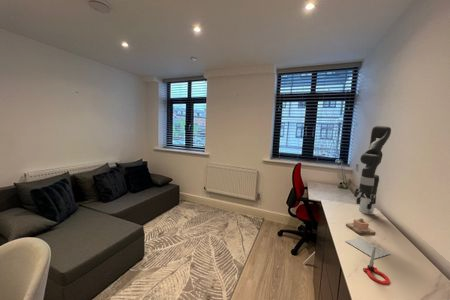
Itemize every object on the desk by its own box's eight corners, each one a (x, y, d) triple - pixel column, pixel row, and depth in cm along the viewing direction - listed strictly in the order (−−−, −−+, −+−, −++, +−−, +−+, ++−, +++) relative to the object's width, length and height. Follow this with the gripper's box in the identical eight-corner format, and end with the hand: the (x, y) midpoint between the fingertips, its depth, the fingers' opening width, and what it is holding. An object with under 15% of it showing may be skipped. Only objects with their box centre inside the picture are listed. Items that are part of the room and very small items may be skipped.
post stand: (345, 225, 139) (347, 214, 139) (360, 225, 141) (361, 214, 140) (359, 234, 128) (361, 223, 127) (375, 234, 130) (377, 222, 129)
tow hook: (394, 285, 87) (376, 269, 96) (400, 259, 85) (381, 245, 94) (377, 286, 86) (360, 270, 95) (383, 260, 84) (365, 246, 93)
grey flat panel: (369, 236, 127) (370, 235, 127) (418, 261, 104) (419, 260, 104) (345, 241, 119) (345, 240, 119) (392, 270, 96) (392, 269, 96)
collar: (353, 225, 137) (353, 219, 136) (360, 225, 138) (361, 219, 137) (360, 229, 131) (361, 223, 130) (367, 229, 132) (368, 223, 131)
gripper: (381, 186, 124) (377, 210, 126) (362, 180, 138) (359, 202, 140) (371, 186, 123) (367, 211, 125) (353, 180, 137) (350, 202, 139)
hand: (363, 206), depth 133 cm, fingers open, 8 cm apart
